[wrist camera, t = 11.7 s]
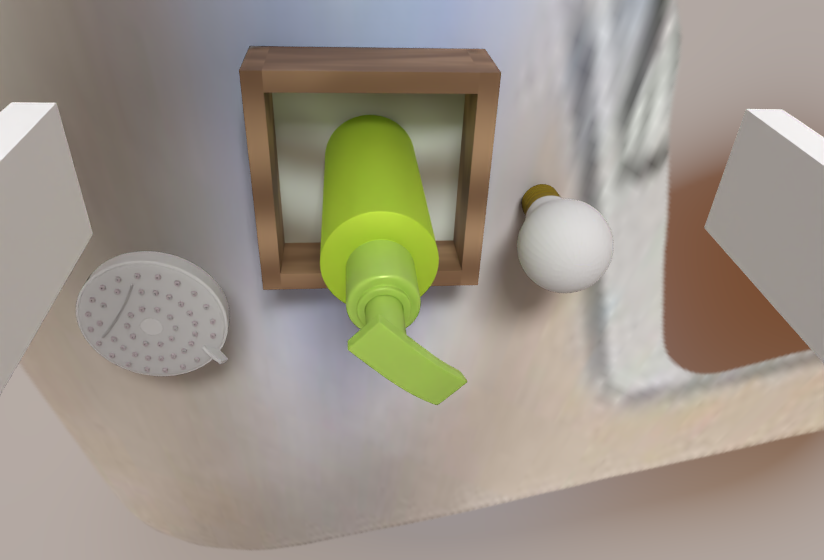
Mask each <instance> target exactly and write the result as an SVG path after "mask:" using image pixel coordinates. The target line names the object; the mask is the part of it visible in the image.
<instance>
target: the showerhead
mask: <svg viewBox="0 0 824 560" xmlns="http://www.w3.org/2000/svg"><path fill="white" fill-rule="evenodd" d="M76 317H77V322H78V325H79V328H80V330H81V332H82V334H83V336H84V338H85V339H86V340H87V342H88V343H89V344H90V345H91V346H92V347H93V348H94V349H95V351H96V352H97V353H99V354H100V355H101V356H103V357H104V358H105V359H107V360H108V361H110V362H112V363H114V364H115V365H117V366H119V367H121V368H124V369H127V370H129V371H132V372H135V373H140V374H145V375H152V376H173V375H180V374H184V373H188V372H191V371H194V370H196V369H199V368H201V367H202V366H204V365H206V364H207V363H209V362H210V361H211V360H212V359H214V360H215V361H216V362H218V363H219V364H222V363H225V362H226V361H227V360H228V358H227V357H226V356H225V355H224V354H223V353H222V352H221V351H220V350H221V349H222V347H223V345H224V343H225V341H226V337H227V333H228V327H229V321H230V311H229V305H228V302H227V299H226V297H225V295H224V292H223V291H222V289H221V288H220V286H219V285H218V284H217V282H216V281H215V280H214V279H213V278H212V277H211V276H210V275H209V274H208V273H207V272H205V271H204V270H203V269H202V268H200V267H198V266H197V265H195V264H193V263H192V262H190V261H188V260H185V259H183V258H181V257H178V256H175V255H171V254H167V253H162V252H154V251H138V252H130V253H125V254H121V255H119V256H116V257H113V258H111V259H109V260H107V261H106V262H104V263H103V264H101V265H100V266H99V267H98V268H97V269H96V270H95V271H94V272H93V273H92V274H91V275H90V277H89V278H88V280H87V281H86V283H85V284H84V286H83V287H82V289H81V291H80V293H79V295H78V299H77V303H76Z"/></svg>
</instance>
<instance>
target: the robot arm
mask: <svg viewBox="0 0 824 560" xmlns="http://www.w3.org/2000/svg"><path fill="white" fill-rule="evenodd" d="M705 229H706V230H707V231H708V232H709V234H710V235H711V236H712V237H713V238H714V239H715V240H716V241H717V243H718V244H719V245H720V246H721V247H722V248H723V250H724V251H725V252H726V253H727V254H728V255H729V256H730V257H731V259H732V260H733V261H734V262H735V263H736V264H737V265H738V267H739V268H740V269H741V270H742V271H743V272H744V273H745V274H746V276H747V277H748V278H749V279H750V280H751V281H752V282H753V284H754V285H755V286H756V287H757V288H758V289H759V290H760V291H761V293H762V294H763V295H764V296H765V297H766V298H767V299H768V301H769V302H770V303H771V304H772V305H773V306H774V307H775V309H776V310H777V311H778V312H779V313H780V314H781V315H782V317H783V318H784V319H785V320H786V321H787V322H788V323H789V324H790V326H791V327H792V328H793V329H794V330H795V331H796V332H797V334H798V335H799V336H800V337H801V338H802V339H803V340H804V341H805V343H806V344H807V345H808V346H809V347H810V348H811V349H812V351H813V352H814V353H815V354H816V355H817V356H818V357H819V359H820V360H821V361H822V362H823V363H824V137H822V136H821V135H819V134H818V133H816V132H815V131H814V130H812V129H811V128H809V127H808V126H806V125H804V124H803V123H802V122H800V121H799V120H797V119H796V118H794V117H793V116H791V115H790V114H788V113H787V112H785V111H784V110H781V109H746V111H745V114H744V117H743V120H742V123H741V126H740V128H739V131H738V134H737V137H736V140H735V142H734V145H733V148H732V151H731V154H730V157H729V159H728V162H727V165H726V168H725V171H724V174H723V177H722V179H721V182H720V185H719V188H718V191H717V193H716V196H715V199H714V202H713V205H712V208H711V211H710V213H709V216H708V219H707V222H706V225H705ZM92 235H93V232H92V228H91V225H90V221H89V218H88V214H87V210H86V207H85V203H84V200H83V196H82V192H81V189H80V185H79V182H78V178H77V175H76V171H75V167H74V164H73V160H72V157H71V153H70V149H69V146H68V142H67V139H66V135H65V131H64V128H63V124H62V121H61V117H60V113H59V110H58V106H57V103H37V102H11V103H10V104H9V105H8V106H7V107H6V108H4V109H3V110H2V111H1V112H0V395H1V393H2V391H3V390H4V388H5V386H6V384H7V383H8V381H9V379H10V378H11V376H12V374H13V372H14V370H15V369H16V367H17V365H18V364H19V362H20V360H21V358H22V357H23V355H24V353H25V352H26V350H27V348H28V346H29V345H30V343H31V341H32V339H33V338H34V336H35V334H36V332H37V331H38V329H39V327H40V325H41V324H42V322H43V320H44V318H45V317H46V315H47V313H48V312H49V310H50V308H51V306H52V305H53V303H54V301H55V299H56V298H57V296H58V294H59V292H60V291H61V289H62V287H63V285H64V284H65V282H66V280H67V278H68V277H69V275H70V273H71V272H72V270H73V268H74V266H75V265H76V263H77V261H78V259H79V258H80V256H81V254H82V252H83V251H84V249H85V247H86V245H87V244H88V242H89V240H90V238H91V237H92Z"/></svg>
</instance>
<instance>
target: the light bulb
mask: <svg viewBox="0 0 824 560" xmlns="http://www.w3.org/2000/svg"><path fill="white" fill-rule="evenodd" d="M522 208H523V211H524V214H525V216H526V217H525V221H524V223H523V225H522V227H521V229H520V232H519V235H518V241H517V253H518V257H519V261H520V264H521V266H522V268H523V270H524V271H525V273H526V274H527V275H528V277H529V278H530V279H531V280H532V281H533V282H535V283H536V284H537V285H539V286H541V287H542V288H544V289H547V290H549V291H553V292H557V293H572V292H577V291H581V290H583V289H586V288H588V287H590V286H591V285H593V284H594V283H595V282H597V281H598V280H599V279H600V278H601V277H602V276H603V274H604V273H605V272H606V270H607V268H608V267H609V264H610V262H611V259H612V255H613V236H612V232H611V229H610V227H609V224H608V223H607V221H606V220H605V218H604V217H603V216H602V215H601V214H600V213H599V211H597V210H596V209H595V208H593V207H592V206H590V205H589V204H586V203H584V202H582V201H578V200H574V199H563V198H561V197H560V196H559V194H558V193H557V192H556V190H555V189H554V188H553V187H551V186H549V185H546V184H540V185H536V186H533V187H531V188H530V189H529V190H528V191H527V192H526V193H525V194H524V196H523V199H522Z"/></svg>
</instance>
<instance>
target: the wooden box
mask: <svg viewBox="0 0 824 560" xmlns="http://www.w3.org/2000/svg"><path fill="white" fill-rule="evenodd" d="M239 74H240V83H241V92H242V101H243V110H244V119H245V128H246V137H247V146H248V155H249V164H250V173H251V182H252V191H253V200H254V209H255V218H256V227H257V236H258V245H259V254H260V263H261V272H262V281H263V290H271V289H317V288H328V287H327V286H326V284H325V282H324V280H323V277H322V274H321V270H320V249H321V229H322V209H323V189H324V169H325V152H326V147H327V143H328V141H329V139H330V137H331V135H332V134H333V132H334V131H335V130H336V129H337V128H338V127H339V126H340V125H341V124H343V123H344V122H346V121H347V120H349V119H352V118H354V117H357V116H362V115H378V116H383V117H386V118H388V119H391V120H393V121H394V122H396V123H397V124H399V125H400V126H401V127H402V128H403V129H404V130H405V131H406V132H407V134H408V135H409V137H410V139H411V141H412V144H413V147H414V151H415V156H416V160H417V164H418V168H419V173H420V177H421V181H422V185H423V190H424V194H425V198H426V202H427V207H428V211H429V215H430V219H431V224H432V228H433V232H434V236H435V241H436V245H437V249H438V255H439V265H438V270H437V274H436V276H435V279H434V281H433V283H432V284H431V286H454V285H478V278H479V269H480V260H481V251H482V242H483V233H484V224H485V215H486V206H487V197H488V188H489V179H490V169H491V160H492V151H493V142H494V133H495V124H496V115H497V106H498V97H499V88H500V79H501V72H500V70H499V69H498V67H497V66H496V65H495V63H494V62H493V60H492V59H491V57H490V56H489V54H488V53H487V51H486V50H485V49H438V48H358V47H278V46H250V47H249V49H248V51H247V53H246V56H245V58H244V60H243V63H242V65H241V67H240V69H239Z"/></svg>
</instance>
